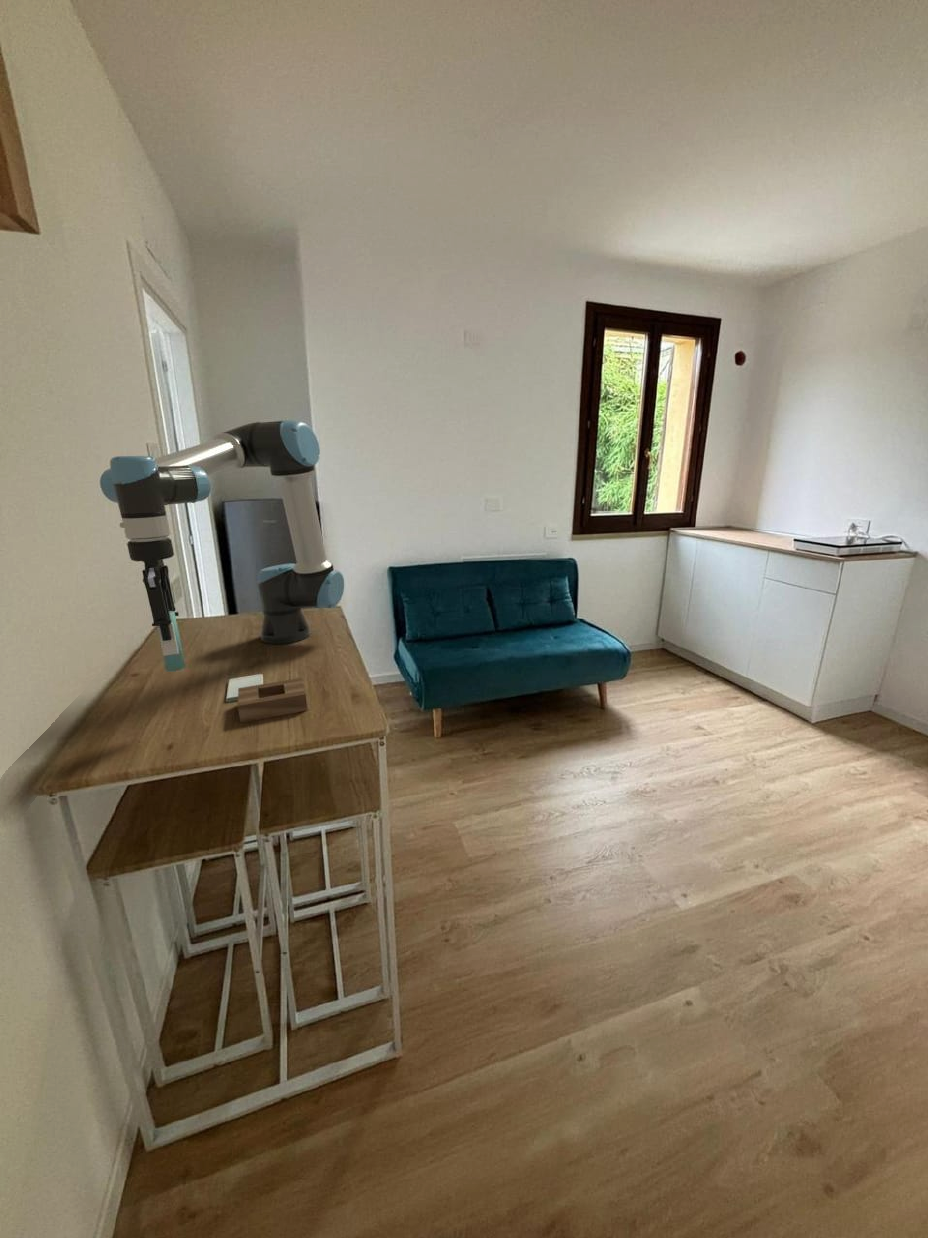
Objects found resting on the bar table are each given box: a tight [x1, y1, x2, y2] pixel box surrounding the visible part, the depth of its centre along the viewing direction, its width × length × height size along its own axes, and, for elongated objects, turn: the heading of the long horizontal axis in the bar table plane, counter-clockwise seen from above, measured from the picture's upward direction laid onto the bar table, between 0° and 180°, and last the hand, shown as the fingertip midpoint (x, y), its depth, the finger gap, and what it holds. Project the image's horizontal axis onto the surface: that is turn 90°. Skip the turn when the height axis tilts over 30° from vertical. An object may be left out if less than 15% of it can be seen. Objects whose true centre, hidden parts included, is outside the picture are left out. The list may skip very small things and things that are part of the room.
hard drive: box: [225, 673, 264, 703], centre depth 127 cm, size 2×8×12 cm
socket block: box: [237, 677, 308, 724], centre depth 116 cm, size 10×14×4 cm
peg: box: [156, 611, 186, 672], centre depth 106 cm, size 4×4×12 cm
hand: (172, 650), depth 107 cm, fingers closed on peg, 3 cm apart
